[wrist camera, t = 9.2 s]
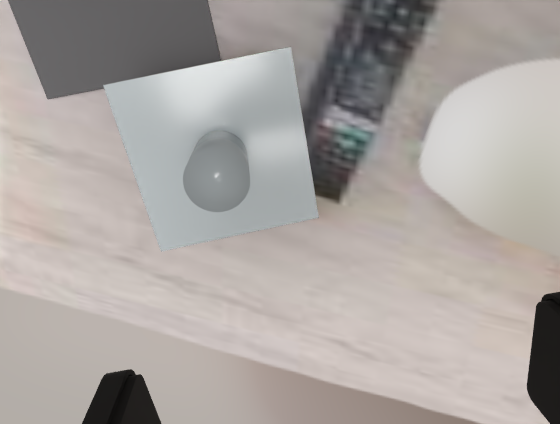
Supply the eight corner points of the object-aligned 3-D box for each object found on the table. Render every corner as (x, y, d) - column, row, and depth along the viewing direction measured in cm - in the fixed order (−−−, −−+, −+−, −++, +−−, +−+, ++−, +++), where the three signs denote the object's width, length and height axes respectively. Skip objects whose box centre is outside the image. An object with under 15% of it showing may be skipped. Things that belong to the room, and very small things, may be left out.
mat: (188, -83, 28) (187, -85, 27) (221, 64, 32) (221, 64, 31) (-8, -47, 27) (-12, -48, 27) (49, 98, 31) (47, 99, 31)
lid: (288, 47, 24) (304, 44, 18) (316, 212, 28) (335, 251, 22) (108, 83, 23) (68, 93, 18) (163, 244, 28) (145, 292, 22)
